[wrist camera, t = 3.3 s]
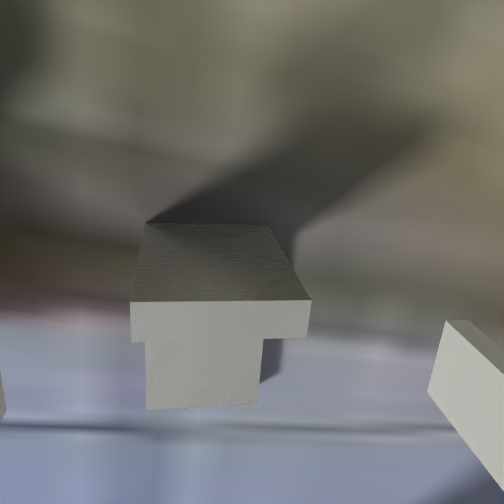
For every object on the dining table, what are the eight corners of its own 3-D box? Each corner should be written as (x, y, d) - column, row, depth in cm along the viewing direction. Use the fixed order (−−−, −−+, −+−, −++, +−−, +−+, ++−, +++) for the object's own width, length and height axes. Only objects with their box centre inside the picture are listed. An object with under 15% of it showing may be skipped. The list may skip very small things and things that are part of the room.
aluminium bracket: (145, 222, 22) (130, 302, 14) (267, 224, 23) (311, 300, 15) (147, 391, 25) (137, 523, 18) (253, 386, 26) (282, 509, 19)
